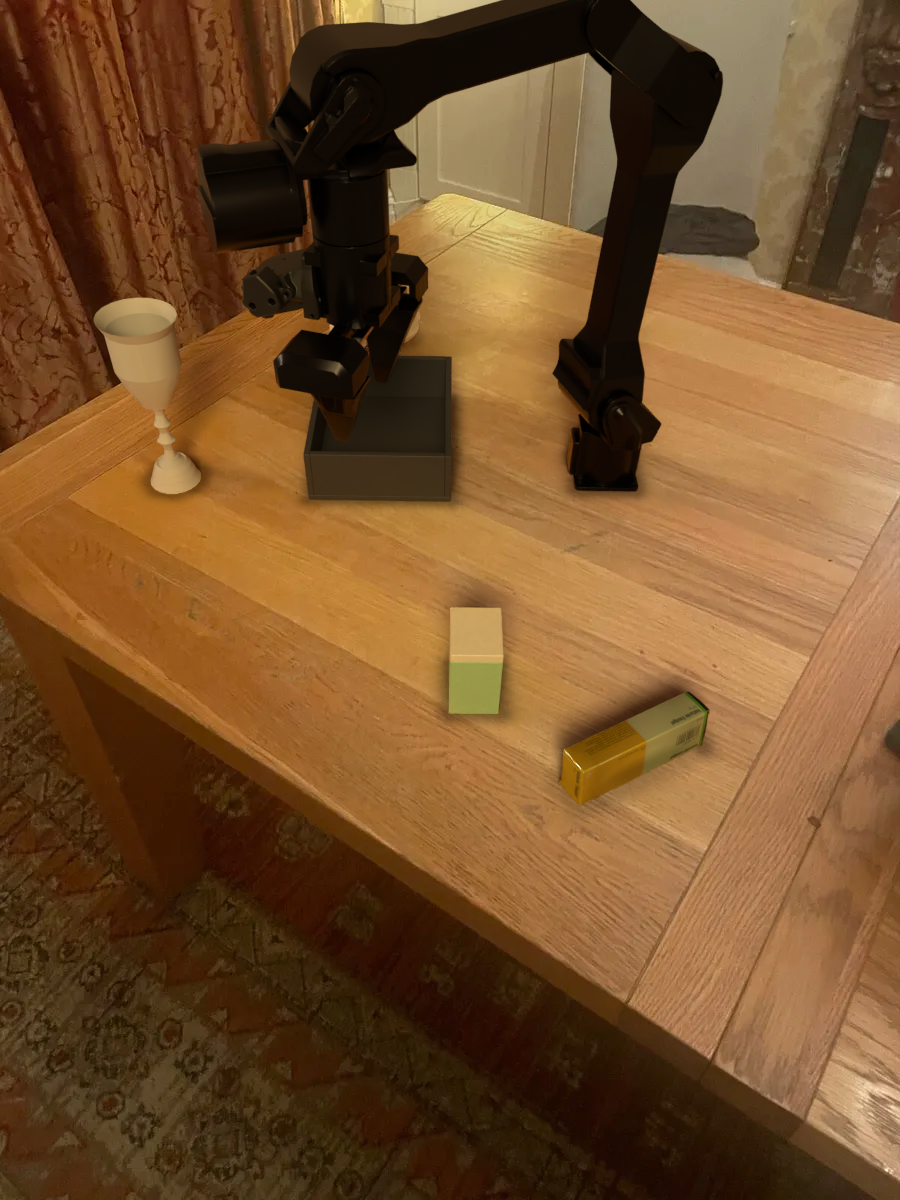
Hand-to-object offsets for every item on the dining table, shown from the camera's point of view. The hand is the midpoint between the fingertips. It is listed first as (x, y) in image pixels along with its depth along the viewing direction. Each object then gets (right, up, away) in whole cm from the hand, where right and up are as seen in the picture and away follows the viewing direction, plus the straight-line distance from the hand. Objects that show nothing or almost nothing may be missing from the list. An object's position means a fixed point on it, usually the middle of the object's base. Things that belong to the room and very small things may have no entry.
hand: (362, 409), depth 78 cm
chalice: (-21, -4, +15) cm, 26 cm away
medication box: (+21, -29, -8) cm, 37 cm away
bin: (0, 0, +19) cm, 19 cm away
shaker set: (-1, +15, +34) cm, 37 cm away
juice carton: (+9, -24, -4) cm, 26 cm away
